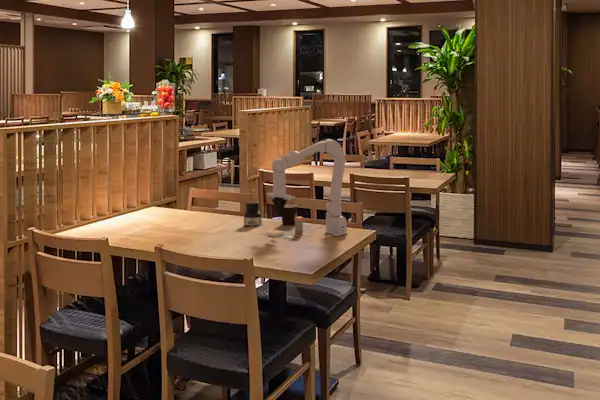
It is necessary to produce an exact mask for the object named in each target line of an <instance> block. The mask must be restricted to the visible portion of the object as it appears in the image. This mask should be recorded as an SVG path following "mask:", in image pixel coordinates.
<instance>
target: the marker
mask: <svg viewBox="0 0 600 400" xmlns="http://www.w3.org/2000/svg"><path fill="white" fill-rule="evenodd" d="M303 221H304V217H303V216H297V217H295V225H294V230H295V235H303V232H304V222H303Z"/></svg>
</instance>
